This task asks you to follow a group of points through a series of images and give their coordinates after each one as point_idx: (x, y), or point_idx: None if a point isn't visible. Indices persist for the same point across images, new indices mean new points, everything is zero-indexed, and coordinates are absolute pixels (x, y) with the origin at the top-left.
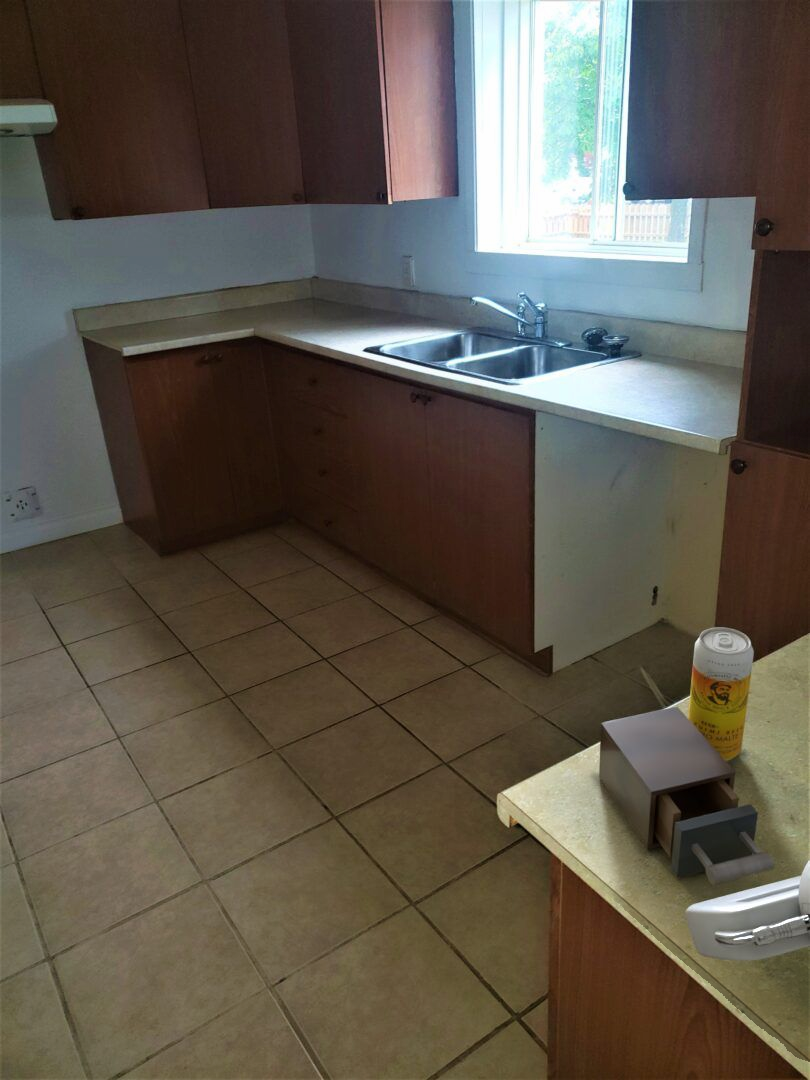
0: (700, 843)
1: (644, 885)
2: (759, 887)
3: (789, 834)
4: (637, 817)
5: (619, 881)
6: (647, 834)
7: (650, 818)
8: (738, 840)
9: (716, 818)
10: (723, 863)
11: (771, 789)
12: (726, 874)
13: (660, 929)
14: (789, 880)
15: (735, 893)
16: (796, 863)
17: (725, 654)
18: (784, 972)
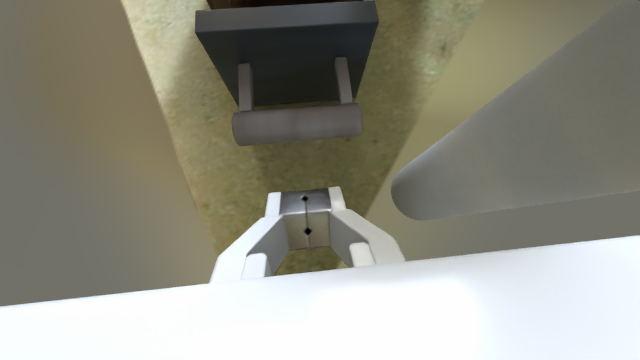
0: (256, 64)
1: (200, 106)
2: (118, 336)
3: (428, 70)
4: None
5: (170, 94)
6: None
7: (210, 3)
8: (333, 70)
9: (285, 17)
10: (263, 114)
11: (439, 4)
12: (259, 136)
13: (184, 173)
14: (255, 340)
15: (7, 340)
16: (414, 113)
17: None
18: (312, 268)
